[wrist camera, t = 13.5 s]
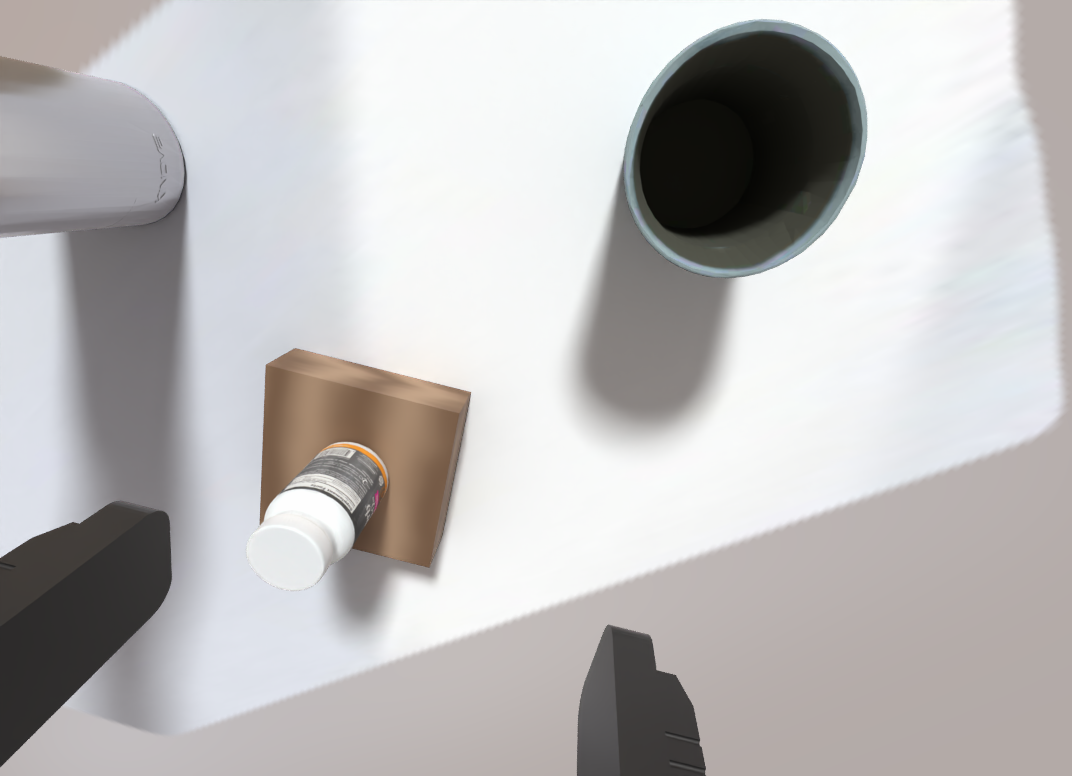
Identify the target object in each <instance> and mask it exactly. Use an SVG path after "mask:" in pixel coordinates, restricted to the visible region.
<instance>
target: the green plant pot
mask: <svg viewBox="0 0 1072 776" xmlns="http://www.w3.org/2000/svg"><path fill="white" fill-rule="evenodd" d="M866 142H867V111H866V105H865V99H864V96H863V93H862V90H861V87H860V84H859V81H858V79H857V76H856V75H855V73H854V71H853V69H852V67H851V66H850V64H849V63H848V61H847V60H846V59H845V57H844V56H843V55H842V54H841V53H840V51H839V50H838V49H837V48H836V47H835V46H834V45H832V44H831V43H830V42H829V41H828V40H827V39H825V38H824V37H822V36H821V35H820V34H818V33H815V32H813V31H811V30H809V29H807V28H805V27H803V26H801V25H798V24H794V23H790V22H786V21H782V20H768V19H759V20H749V21H744V22H738V23H735V24H732V25H729V26H726V27H723V28H720V29H717V30H715V31H713V32H711V33H709V34H707V35H705V36H703V37H701V38H699V39H698V40H696V41H695V42H693V43H692V44H690V45H689V46H688V47H686V48H685V49H684V50H682V51H681V52H680V53H679V54H678V55H677V56H676V57H675V58H673V59H672V60H671V61H670V62H669V63H668V64H667V65H666V67H665V68H664V69H663V70H662V71H661V73H660V74H659V75H658V76H657V77H656V79H655V80H654V81H653V82H652V84H651V85H650V87H649V89H648V90H647V92H646V94H645V95H644V97H643V99H642V101H641V103H640V105H639V107H638V110H637V112H636V115H635V117H634V120H633V122H632V125H631V127H630V131H629V134H628V137H627V142H626V147H625V154H624V166H623V167H624V185H625V193H626V197H627V201H628V205H629V209H630V211H631V214H632V216H633V219H634V221H635V223H636V225H637V227H638V228H639V230H640V232H641V233H642V235H643V236H644V237H645V239H646V240H647V241H648V243H649V244H650V245H651V246H652V247H653V248H654V249H655V250H656V251H657V252H658V253H659V254H660V255H662V256H663V257H664V258H666V259H667V260H668V261H670V262H672V263H673V264H675V265H677V266H679V267H681V268H683V269H685V270H687V271H690V272H693V273H696V274H700V275H703V276H707V277H717V278H736V277H745V276H750V275H754V274H759V273H761V272H764V271H767V270H769V269H772V268H775V267H777V266H779V265H781V264H783V263H785V262H787V261H788V260H790V259H792V258H794V257H795V256H797V255H799V254H800V253H802V252H803V251H804V250H806V249H807V248H808V247H809V246H810V245H811V244H812V243H814V242H815V241H816V240H817V239H818V238H819V237H820V236H821V235H823V234H824V232H825V231H826V230H827V229H828V228H829V226H830V225H831V224H832V223H833V221H834V220H835V219H836V218H837V216H838V214H839V213H840V211H841V209H842V207H843V206H844V204H845V202H846V200H847V199H848V197H849V195H850V194H851V192H852V190H853V188H854V187H855V185H856V182H857V179H858V176H859V173H860V169H861V166H862V163H863V160H864V157H865V149H866Z"/></svg>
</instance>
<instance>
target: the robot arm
mask: <svg viewBox="0 0 1072 776" xmlns="http://www.w3.org/2000/svg"><path fill="white" fill-rule="evenodd" d="M183 185H184V163H183V156H182V152H181V149H180V146H179V142H178V140H177V138H176V136H175V133H174V131H173V129H172V127H171V125H170V124H169V123H168V121H167V120H166V118H165V117H164V115H163V114H162V113H161V111H160V110H159V109H158V108H157V107H156V106H155V105H154V104H153V103H152V102H151V101H150V100H149V99H148V98H146V97H145V96H144V95H142V94H141V93H139V92H138V91H137V90H135V89H133V88H131V87H129V86H127V85H125V84H123V83H120V82H115V81H111V80H107V79H102V78H98V77H93V76H89V75H84V74H80V73H75V72H71V71H65V70H62V69H58V68H53V67H49V66H44V65H39V64H35V63H30V62H25V61H20V60H16V59H11V58H7V57H2V56H0V238H5V237H16V236H26V235H37V234H48V233H59V232H70V231H80V230H91V229H104V228H114V227H125V226H135V225H144V224H149V223H153V222H156V221H158V220H160V219H162V218H164V217H165V216H166V215H167V214H168V213H169V212H170V211H172V210H173V208H174V207H175V205H176V203H177V202H178V200H179V198H180V195H181V192H182V189H183ZM171 579H172V571H171V546H170V522H169V517H168V515H167V514H166V513H165V512H163V511H160V510H156V509H152V508H148V507H144V506H140V505H136V504H132V503H128V502H124V501H116V502H113V503H110V504H109V505H107V506H105V507H104V508H102V509H101V510H99V511H98V512H96V513H95V514H93V515H92V516H90V517H89V518H87V519H86V520H84V521H83V522H81V523H80V524H78V523H74V522H72V523H69V524H67V525H64V526H62V527H59V528H56V529H54V530H51V531H49V532H46V533H44V534H41V535H38V536H36V537H33V538H31V539H29V540H28V541H26V542H25V543H23V544H22V545H20V546H18V547H17V548H15V549H14V550H12V551H11V552H9V553H7V554H6V555H4V556H3V557H1V558H0V767H1V766H2V765H3V764H4V763H5V762H6V761H7V760H8V759H9V758H10V757H11V756H12V755H13V754H14V753H15V752H16V751H17V750H18V749H19V748H20V747H21V746H22V745H23V744H24V743H25V742H26V741H27V740H28V739H29V738H30V737H31V736H32V735H33V734H34V733H35V732H36V731H37V730H38V729H39V728H40V727H41V726H42V725H43V724H44V723H45V722H46V721H47V720H48V719H49V718H50V717H51V716H52V715H53V714H54V713H55V712H56V711H57V710H58V709H59V708H60V707H61V706H62V705H63V704H64V703H65V702H66V701H67V700H68V699H69V698H70V697H71V696H72V695H73V694H74V693H75V692H76V691H77V690H78V689H79V688H80V687H81V686H82V685H83V684H84V683H85V682H86V681H87V680H88V679H89V678H90V677H91V676H92V675H93V674H94V673H95V672H96V671H97V670H98V669H99V668H100V667H101V666H102V665H103V664H104V663H105V662H106V661H107V660H108V659H109V658H110V657H111V656H112V655H113V654H114V653H115V652H116V651H117V650H118V649H119V648H120V647H121V646H122V645H123V644H124V643H125V642H126V641H127V640H128V639H129V638H130V637H131V636H132V635H133V634H134V633H136V632H137V631H138V630H139V629H140V628H141V627H142V626H143V625H144V624H145V623H146V622H147V621H148V620H149V619H150V618H151V617H152V616H153V614H154V613H155V612H156V611H157V610H158V608H159V607H160V606H161V604H162V603H163V601H164V599H165V597H166V595H167V593H168V591H169V588H170V584H171ZM699 742H700V738H699V732H698V728H697V722H696V718H695V712H694V708H693V705H692V703H691V701H690V700H689V698H688V696H687V694H686V692H685V691H684V689H683V687H682V685H681V684H680V682H679V680H678V678H677V677H676V675H673V674H669V673H665V672H661V671H657V670H656V663H655V656H654V650H653V643H652V639H651V637H650V636H649V635H648V634H644V633H640V632H636V631H632V630H628V629H623V628H620V627H615V626H612V625H607V626H606V628H605V630H604V632H603V635H602V637H601V640H600V643H599V645H598V648H597V651H596V653H595V656H594V659H593V661H592V664H591V667H590V669H589V672H588V675H587V677H586V680H585V683H584V686H583V690H582V694H581V699H580V706H579V715H578V745H577V776H706V775H705V770H706V767H705V762H704V757H703V753H702V747H700V745H699Z"/></svg>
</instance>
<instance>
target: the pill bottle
mask: <svg viewBox="0 0 1072 776" xmlns="http://www.w3.org/2000/svg"><path fill="white" fill-rule="evenodd" d="M387 488H388V473H387V469H386V467H385V465H384V463H383V461H382V460H381V459H380V458H379V456H378V455H377V454H376V453H375V452H373V451H372V450H371V449H369V448H367V447H365V446H363V445H360V444H358V443H353V442H338V443H334V444H332V445H329V446H328V447H326V448H324V449H323V450H322V451H320V452H319V453H318V454H317V455H316V456H315V457H314V458H313V459H312V460H311V462H310V463H309V464H308V465H307V466H306V467H305V468H304V469H303V470H302V471H301V472H300V473H299V474H298V475H297V476H296V477H295V478H294V479H293V480H292V481H291V482H290V483H289V484H288V485H287V486H286V487H285V488H284V489H283V490H282V491H281V492H280V493H279V494H278V495H277V496H276V498H275V499H274V500H273V501H272V502H271V503H270V505H269V506H268V508H267V510H266V513H265V517H264V522H262V524H261V525H260V526H259V527H258V528H257V529H256V530H255V532H254V533H253V534H252V535H251V537H250V538H249V540H248V543H247V547H246V555H247V559H248V562H249V564H250V566H251V568H252V569H253V571H254V572H255V573H256V574H257V575H258V576H259V577H260V578H261V579H262V580H263V581H265V582H266V583H268V584H270V585H272V586H274V587H276V588H279V589H283V590H288V591H300V590H305V589H308V588H310V587H312V586H314V585H315V584H316V583H317V582H318V581H319V580H320V579H321V578H322V576H323V575H324V574H325V572H326V571H327V569H328V567H329V566H330V565H332V564H334V563H336V562H338V561H339V560H341V559H342V558H343V557H344V556H345V555H346V554H347V553H348V552H349V551H350V550H351V548H352V547H353V545H354V543H355V542H356V540H357V538H358V537H359V535H360V533H361V532H362V530H363V529H364V527H365V525H366V524H367V522H368V521H369V519H370V518H371V516H372V515H373V513H374V512H375V510H376V508H377V507H378V505H379V503H380V502H381V500H382V498H383V497H384V495H385V493H386V491H387Z"/></svg>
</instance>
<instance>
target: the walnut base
mask: <svg viewBox="0 0 1072 776" xmlns="http://www.w3.org/2000/svg"><path fill="white" fill-rule="evenodd" d="M470 395H471V392H468V391H464V390H460V389H456V388H452V387H448V386H444V385H440V384H436V383H432V382H428V381H424V380H420V379H416V378H412V377H408V376H404V375H400V374H396V373H392V372H388V371H384V370H380V369H376V368H372V367H368V366H364V365H360V364H356V363H352V362H348V361H344V360H340V359H336V358H332V357H328V356H324V355H320V354H316V353H312V352H308V351H304V350H300V349H296V348H295V349H293V350H291V351H289V352H288V353H286V354H284V355H282V356H281V357H279V358H277V359H275V360H274V361H272V362H270V363H268V364H266V373H265V399H264V425H263V451H262V477H261V503H260V525H261V524H262V522H264V517H265V513H266V510H267V508H268V506H269V505H270V503H271V502H272V501H273V500H274V499H275V498H276V496H277V495H278V494H279V493H280V492H281V491H282V490H283V489H284V488H285V487H286V486H287V485H288V484H289V483H290V482H291V481H292V480H293V479H294V478H295V477H296V476H297V475H298V474H299V473H300V472H301V471H302V470H303V469H304V468H305V467H306V466H307V465H308V464H309V463H310V462H311V460H312V459H313V458H314V457H315V456H316V455H317V454H318V453H319V452H320V451H322V450H323V449H324V448H326V447H328V446H329V445H332V444H334V443H338V442H353V443H358V444H360V445H363V446H365V447H367V448H369V449H371V450H372V451H373V452H375V453H376V454H377V455H378V456H379V458H380V459H381V460H382V461H383V463H384V465H385V467H386V469H387V473H388V488H387V491H386V493H385V495H384V497H383V498H382V500H381V502H380V503H379V505H378V507H377V508H376V510H375V512H374V513H373V515H372V516H371V518H370V519H369V521H368V522H367V524H366V525H365V527H364V529H363V530H362V532H361V533H360V535H359V537H358V538H357V540H356V542H355V543H354V545H353V547H352V548H353V549H357V550H361V551H365V552H369V553H373V554H377V555H381V556H385V557H389V558H393V559H397V560H401V561H405V562H409V563H413V564H417V565H421V566H425V567H430V565H431V562H432V560H433V558H434V555H435V553H436V550H437V548H438V545H439V543H440V540H441V538H442V535H443V530H444V525H445V520H446V515H447V510H448V505H449V500H450V495H451V490H452V485H453V480H454V475H455V470H456V465H457V460H458V455H459V450H460V445H461V440H462V435H463V430H464V425H465V420H466V415H467V410H468V405H469V400H470Z"/></svg>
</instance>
